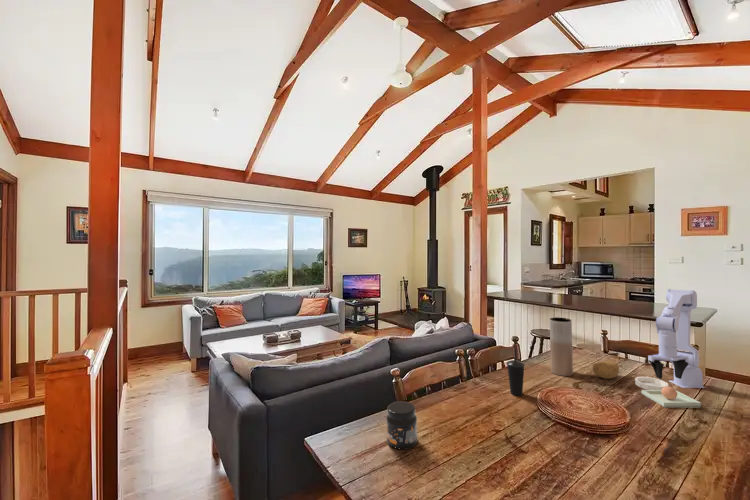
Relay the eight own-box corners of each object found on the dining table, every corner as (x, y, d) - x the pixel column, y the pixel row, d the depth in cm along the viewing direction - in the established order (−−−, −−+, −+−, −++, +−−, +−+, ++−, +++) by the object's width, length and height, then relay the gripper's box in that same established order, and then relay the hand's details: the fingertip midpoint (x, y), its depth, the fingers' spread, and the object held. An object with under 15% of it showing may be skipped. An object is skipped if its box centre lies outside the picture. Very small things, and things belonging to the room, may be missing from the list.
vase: (546, 370, 175) (545, 318, 175) (561, 368, 178) (559, 316, 178) (562, 377, 165) (560, 322, 165) (577, 374, 168) (576, 320, 168)
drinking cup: (522, 390, 152) (521, 346, 152) (528, 397, 144) (526, 351, 144) (505, 390, 153) (503, 346, 153) (510, 397, 145) (508, 351, 145)
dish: (654, 381, 157) (654, 376, 157) (675, 392, 145) (675, 386, 145) (629, 381, 158) (629, 376, 158) (647, 392, 146) (647, 386, 146)
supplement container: (382, 437, 117) (381, 403, 117) (409, 431, 121) (408, 398, 121) (394, 454, 107) (393, 417, 107) (423, 446, 111) (422, 410, 111)
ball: (671, 396, 140) (670, 384, 140) (680, 401, 135) (680, 389, 135) (658, 395, 140) (658, 384, 140) (667, 401, 135) (667, 389, 135)
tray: (675, 394, 143) (675, 389, 143) (700, 407, 131) (700, 402, 131) (641, 394, 144) (641, 389, 144) (663, 407, 132) (663, 402, 132)
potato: (625, 378, 162) (625, 362, 162) (608, 384, 156) (607, 367, 156) (605, 372, 171) (604, 356, 171) (587, 377, 165) (587, 361, 165)
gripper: (657, 348, 134) (658, 381, 134) (694, 348, 134) (695, 381, 134) (644, 343, 142) (645, 375, 142) (679, 343, 141) (680, 375, 141)
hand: (668, 377), depth 138 cm, fingers open, 7 cm apart
